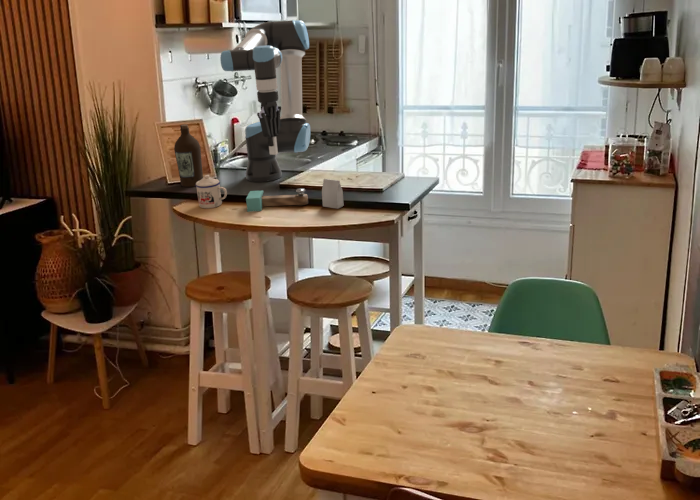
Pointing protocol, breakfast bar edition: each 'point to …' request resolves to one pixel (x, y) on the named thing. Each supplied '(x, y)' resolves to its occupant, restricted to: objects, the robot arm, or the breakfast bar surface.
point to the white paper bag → (332, 194)
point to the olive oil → (188, 158)
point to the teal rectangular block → (254, 201)
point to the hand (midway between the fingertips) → (273, 154)
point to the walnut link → (284, 200)
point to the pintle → (300, 191)
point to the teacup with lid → (209, 192)
